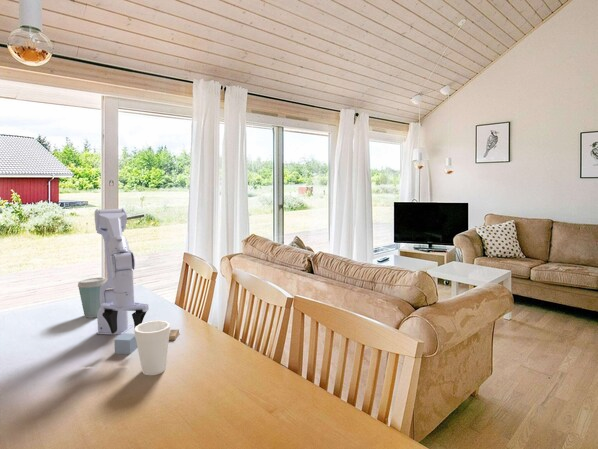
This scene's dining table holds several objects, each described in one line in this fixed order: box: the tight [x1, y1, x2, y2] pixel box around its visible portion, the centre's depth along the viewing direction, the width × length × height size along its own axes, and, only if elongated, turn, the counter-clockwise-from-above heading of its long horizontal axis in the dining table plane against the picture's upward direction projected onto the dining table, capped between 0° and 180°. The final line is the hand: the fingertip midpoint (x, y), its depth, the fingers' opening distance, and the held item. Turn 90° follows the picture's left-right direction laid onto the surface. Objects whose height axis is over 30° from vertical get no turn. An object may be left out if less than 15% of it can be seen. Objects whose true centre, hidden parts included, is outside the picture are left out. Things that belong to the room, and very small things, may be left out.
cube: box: [113, 332, 138, 355], centre depth 123 cm, size 5×5×5 cm
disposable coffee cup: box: [77, 276, 108, 319], centre depth 155 cm, size 11×11×15 cm
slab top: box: [169, 329, 180, 341], centre depth 133 cm, size 6×6×1 cm
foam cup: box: [133, 320, 171, 376], centre depth 110 cm, size 10×9×13 cm
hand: (126, 332), depth 122 cm, fingers open, 7 cm apart
